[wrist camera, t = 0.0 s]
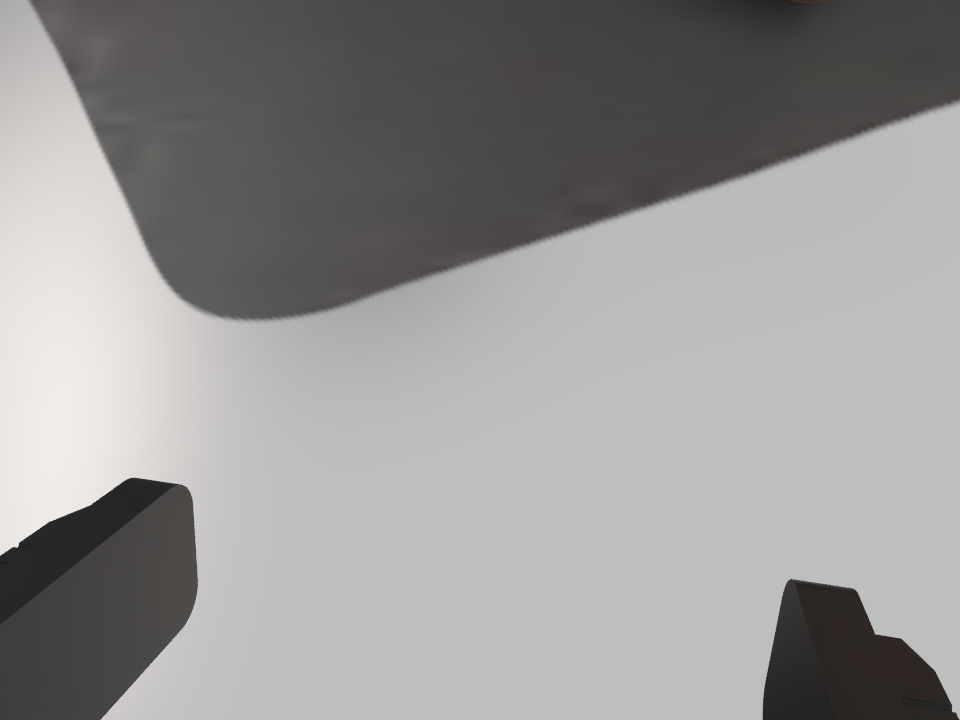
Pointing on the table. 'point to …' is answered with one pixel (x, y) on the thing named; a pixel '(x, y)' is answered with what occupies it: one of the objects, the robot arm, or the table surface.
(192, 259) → the table surface
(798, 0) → the tin
